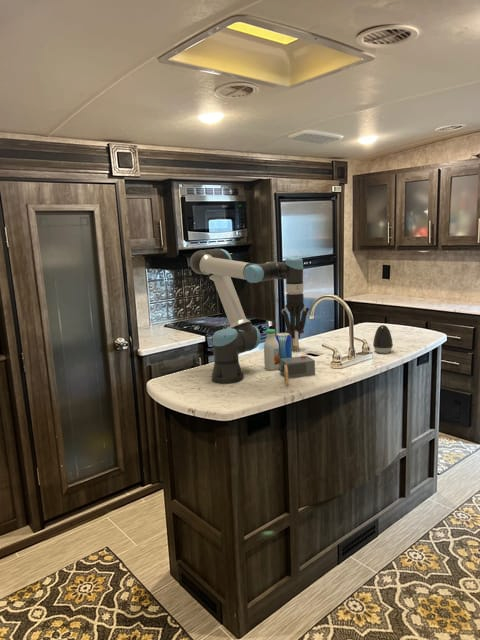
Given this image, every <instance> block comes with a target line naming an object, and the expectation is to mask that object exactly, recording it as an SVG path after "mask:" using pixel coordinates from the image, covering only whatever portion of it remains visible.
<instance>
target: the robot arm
mask: <svg viewBox="0 0 480 640" xmlns="http://www.w3.org/2000/svg"><path fill="white" fill-rule="evenodd" d="M303 262H304V261H303V258H302V257H287V258H285V261H283V262H282V261H267V262H265V263H254V262H253V263H251V262H245V261H239V260H233V259H232V256H231V254H230V253H229V251H227V250H225V249H223V248H213V249H210V248H209V249H204V250H203V249H200V250H197V251H195V252H194V253H193V254H192V255H191V257H190V262H189V264H190V265H189V266H190V267H191V269H192V271H193V272H194V273H196V274H200V275H207V276H208V278H209V280H211V281H213V283H214V286H215V288H216V291H217V293H218V296H219V299H220V302H221V304H222V308H223V310H224V312H225V315H226V317H227V320H228V323H229V327H228V328H223V329H220V330H217V331H215V332H214V333H213V335H212V347H213V349H212V350H213V360H214V361H213V363H214V364H213V368H212V371H211V372H212V373H211V381H212V382H214V383H216V384H233V383H238V382H240V381H242V380H243V379H244V373H243V372H244V371H243V369H242V367H241V364H240V362H239V358H240V357H239V355H241V354H243V353H246V352H250V351H253V350H254V349H256V348H258V347H259V345H260V342H261V340H262V339H261V337H262V336H261V333H260V329H259V328H258V327H256V326H255V325H253V323H252V321H251V320H249V319H247V317H246V315H245V313H244V312H245V311H244V309H243V306H242V305H241V301H240V298H239V296H238V294H237V291H236V289H235V286H234V283H233V280H232V278H234V279H235V278H236V279H241V280H246V281H247V282H248V283H250V284H252V283H255V284H258V283H259V282H264V281H271V280H285V292H286V294H285V296H286V298H285V299H286V302H285V303H286V304H285V307H284V308H283V309H281V310H280V312H281V314H282V315H283V316H282V317H283V320H284V324H285V328H286V330H289V331H291V335H290V337H291V340H292V339H293V345H294V346H299V347H300V344H299V345H298V341H299V339H300V338H301V334H300V331H301V330H302V329H303V330H304V328H305V325H306V321H307V316H308V312H309V311H310V308H309V307H307V306H305V304H304V302H305V300H304V299H305V298H304V263H303ZM288 313H289V314H288ZM289 318H290V319H289ZM295 325H296V330H295Z"/></svg>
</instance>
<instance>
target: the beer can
mask: <svg viewBox="0 0 480 640" xmlns="http://www.w3.org/2000/svg"><path fill="white" fill-rule="evenodd" d="M275 337H276V339H277V341H278V344H279V355H280V359H282V358H291V357H293V350H292V338H291V335H289V333H285V332H278V333H276V335H275Z"/></svg>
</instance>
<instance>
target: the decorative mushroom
mask: <svg viewBox="0 0 480 640" xmlns="http://www.w3.org/2000/svg"><path fill="white" fill-rule="evenodd" d="M295 330H296V324H295ZM284 333H289V335H290V336H291V331H289V330H287V329H286V330H285V332H284ZM304 333H305V331H304V329H302V330H301V331H300V335H302V334H304ZM291 341H292V351H294V352H296V351H298V350H299V348H300V343H299V340H298V345H299V346H294V345H293V339H292V338H291Z"/></svg>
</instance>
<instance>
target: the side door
mask: <svg viewBox="0 0 480 640" xmlns="http://www.w3.org/2000/svg"><path fill="white" fill-rule="evenodd" d="M283 376H284V381H285V385H286V386H289V378H288V369H287V364H284V375H283Z"/></svg>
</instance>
